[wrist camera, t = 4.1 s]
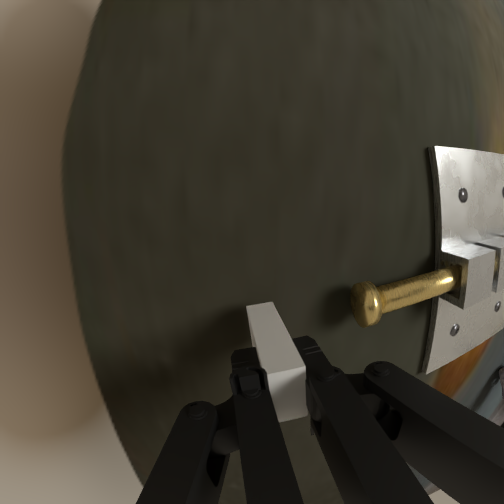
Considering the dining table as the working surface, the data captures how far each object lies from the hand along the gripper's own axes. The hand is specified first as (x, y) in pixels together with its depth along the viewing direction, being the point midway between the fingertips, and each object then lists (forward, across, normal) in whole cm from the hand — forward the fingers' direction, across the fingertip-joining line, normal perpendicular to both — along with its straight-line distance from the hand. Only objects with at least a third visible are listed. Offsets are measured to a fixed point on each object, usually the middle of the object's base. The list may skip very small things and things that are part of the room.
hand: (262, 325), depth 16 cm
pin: (+2, +14, 0) cm, 15 cm away
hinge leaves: (+2, +21, 0) cm, 21 cm away
